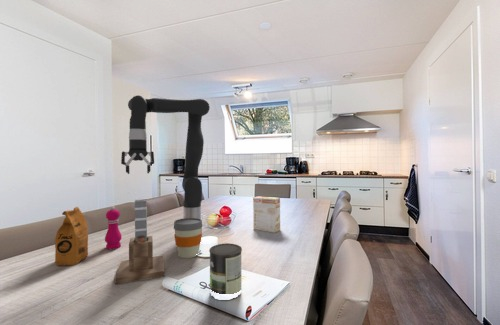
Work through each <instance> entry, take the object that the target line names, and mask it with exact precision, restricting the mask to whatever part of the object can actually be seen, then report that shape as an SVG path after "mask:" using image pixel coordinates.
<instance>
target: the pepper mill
mask: <svg viewBox="0 0 500 325" xmlns="http://www.w3.org/2000/svg"><path fill="white" fill-rule="evenodd" d="M120 216H121V214H120V211H119V210H118V209H116V207H115V206H113V205H112V206H110V209H109V210H108V211H107V212H106V213H105V218H106V219H107V221H106V222H107V225H108V226H107V227H108V228H107V231H106V234H105V236H104V242H105V243H106V245H105V248H106V250H115V249H119V248H120V247H121V244H122V243H121V240H122V237H123V236H122V233H121V231H120V229H119V222H120V221H119V218H120Z"/></svg>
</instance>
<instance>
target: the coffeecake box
mask: <svg viewBox="0 0 500 325" xmlns="http://www.w3.org/2000/svg"><path fill="white" fill-rule="evenodd" d="M252 200H253V202H252V203H253V204H252V206H253V208H252V209H253V213H252V214H253V215H252V216H253V219H252V220H253V223H252V224H253V230H256V231H263V232H269V233H275V234H276V233H277V232H279V231H281V198H280V197H273V196H259V195H258V196H254V197H253V199H252Z"/></svg>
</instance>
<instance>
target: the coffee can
mask: <svg viewBox="0 0 500 325" xmlns="http://www.w3.org/2000/svg"><path fill="white" fill-rule="evenodd" d="M242 252H243V248H242V246H241V245H239V244H236V243H226V242H225V243H219V244H214V245H213V246H211V247H209V290H210V289H211V290H212V291H214V292H216V293H219V294H234V293H237V292H239V291H240V290H242Z"/></svg>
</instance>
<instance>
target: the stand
mask: <svg viewBox="0 0 500 325" xmlns="http://www.w3.org/2000/svg"><path fill="white" fill-rule="evenodd" d="M153 239H154V238H153V235H147V241H144V237H142V238H137V242H135V237H130V239H129V243H128V259H127V260H121V261H120V263H119V265H118V269H117V272H116V275H115V279H114V280H115V282H114V283H115V285H118V284H125V283H132V282H137V281H143V280H144V281H145V280H149V279H156V278H162V277H165V263H164V255H157V256H154V252H153V250H154V248H153V247H154V246H153V244H154V243H153V241H154V240H153Z"/></svg>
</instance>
